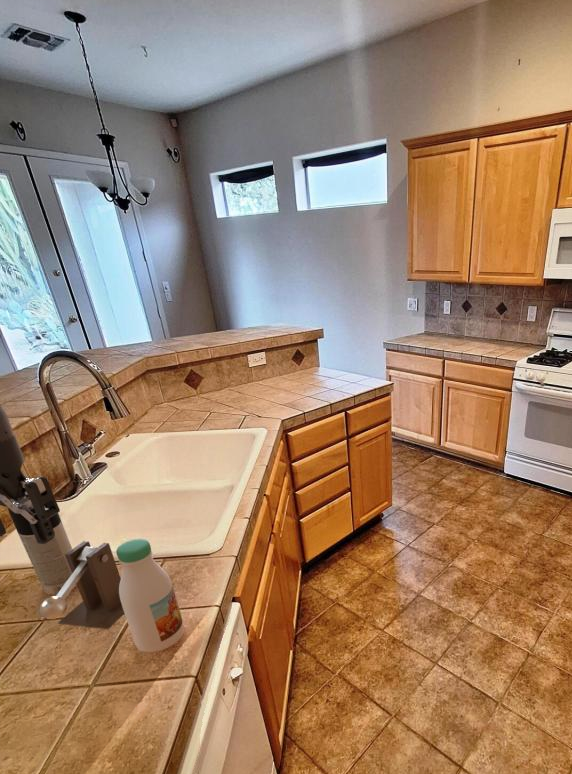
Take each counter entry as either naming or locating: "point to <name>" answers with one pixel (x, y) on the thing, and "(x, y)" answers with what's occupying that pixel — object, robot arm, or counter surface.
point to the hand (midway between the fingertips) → (22, 538)
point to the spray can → (46, 551)
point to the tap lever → (65, 589)
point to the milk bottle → (148, 598)
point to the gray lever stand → (96, 589)
